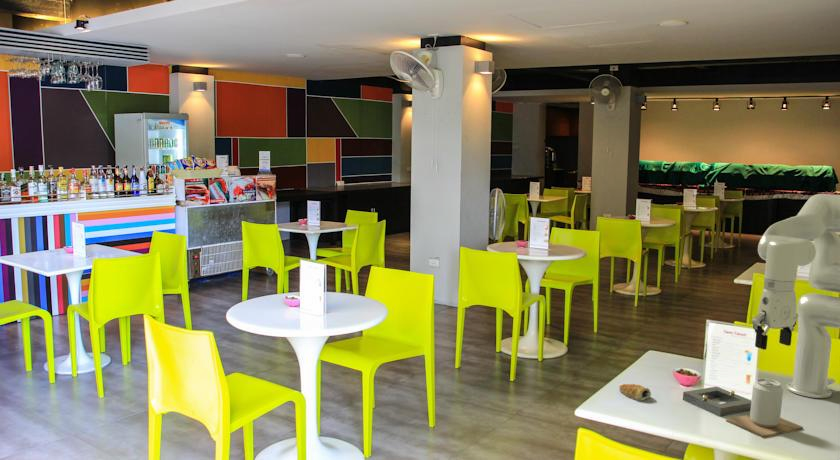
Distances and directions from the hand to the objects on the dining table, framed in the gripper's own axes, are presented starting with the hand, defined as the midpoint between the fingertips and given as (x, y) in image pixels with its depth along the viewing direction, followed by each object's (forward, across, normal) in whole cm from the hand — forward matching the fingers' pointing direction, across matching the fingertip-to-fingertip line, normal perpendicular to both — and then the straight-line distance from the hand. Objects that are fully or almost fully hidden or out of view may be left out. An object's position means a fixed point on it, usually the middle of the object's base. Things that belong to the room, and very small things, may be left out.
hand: (772, 346), depth 199 cm
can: (+22, -1, -1) cm, 22 cm away
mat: (+22, -1, -1) cm, 22 cm away
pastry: (+23, -20, +30) cm, 43 cm away
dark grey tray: (+22, -1, +15) cm, 27 cm away
